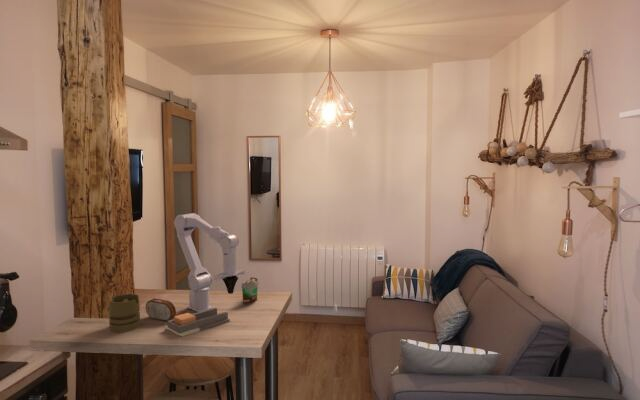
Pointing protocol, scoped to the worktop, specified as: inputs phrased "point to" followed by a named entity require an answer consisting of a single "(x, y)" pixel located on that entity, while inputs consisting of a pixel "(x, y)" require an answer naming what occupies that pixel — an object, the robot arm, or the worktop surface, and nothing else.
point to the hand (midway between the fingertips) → (230, 293)
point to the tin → (160, 309)
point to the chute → (199, 322)
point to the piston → (124, 313)
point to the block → (184, 318)
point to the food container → (250, 290)
